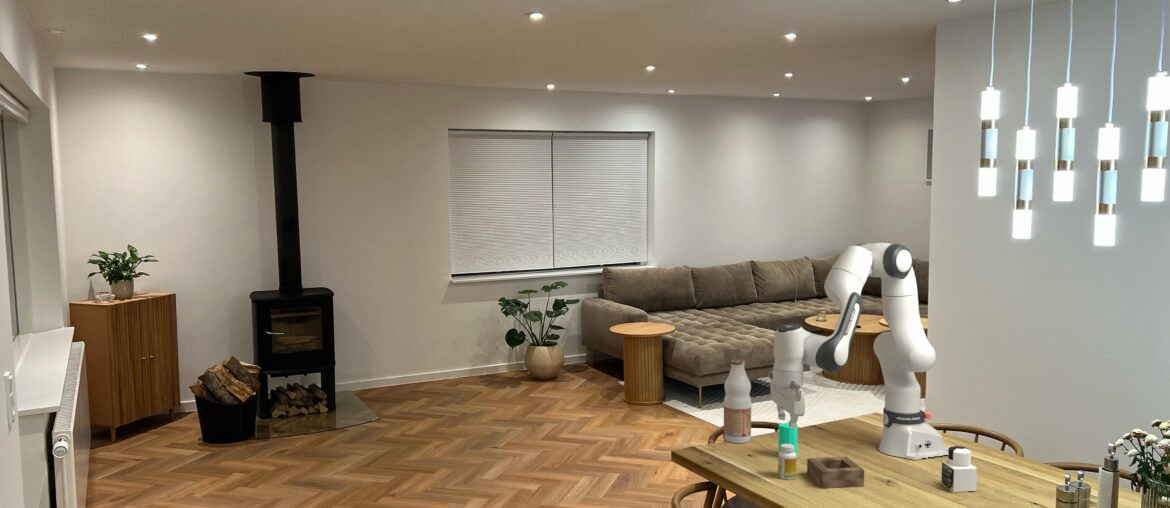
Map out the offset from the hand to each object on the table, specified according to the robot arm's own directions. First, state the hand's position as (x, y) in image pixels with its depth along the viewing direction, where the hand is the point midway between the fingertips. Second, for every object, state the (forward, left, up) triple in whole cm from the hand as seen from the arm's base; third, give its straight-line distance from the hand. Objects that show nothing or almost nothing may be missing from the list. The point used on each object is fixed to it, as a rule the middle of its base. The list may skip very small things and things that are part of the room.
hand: (787, 423), depth 262 cm
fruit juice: (+4, -39, -17) cm, 43 cm away
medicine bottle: (-46, +16, -17) cm, 52 cm away
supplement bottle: (0, 0, -17) cm, 17 cm away
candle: (-7, -19, -17) cm, 26 cm away
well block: (-13, +5, -17) cm, 22 cm away
